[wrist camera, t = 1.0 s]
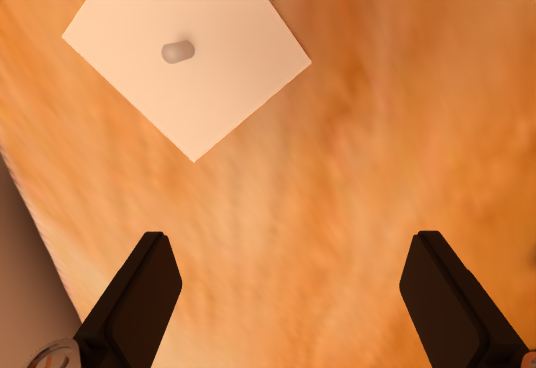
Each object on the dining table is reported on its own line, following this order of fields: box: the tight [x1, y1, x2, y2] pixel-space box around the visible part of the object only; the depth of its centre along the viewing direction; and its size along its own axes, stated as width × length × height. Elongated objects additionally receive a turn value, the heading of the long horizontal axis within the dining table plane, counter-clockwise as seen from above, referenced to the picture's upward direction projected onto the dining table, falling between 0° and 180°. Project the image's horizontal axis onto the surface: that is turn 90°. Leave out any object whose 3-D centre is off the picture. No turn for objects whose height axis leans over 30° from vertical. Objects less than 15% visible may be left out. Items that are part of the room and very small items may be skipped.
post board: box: [62, 0, 312, 162], centre depth 26 cm, size 18×18×6 cm
